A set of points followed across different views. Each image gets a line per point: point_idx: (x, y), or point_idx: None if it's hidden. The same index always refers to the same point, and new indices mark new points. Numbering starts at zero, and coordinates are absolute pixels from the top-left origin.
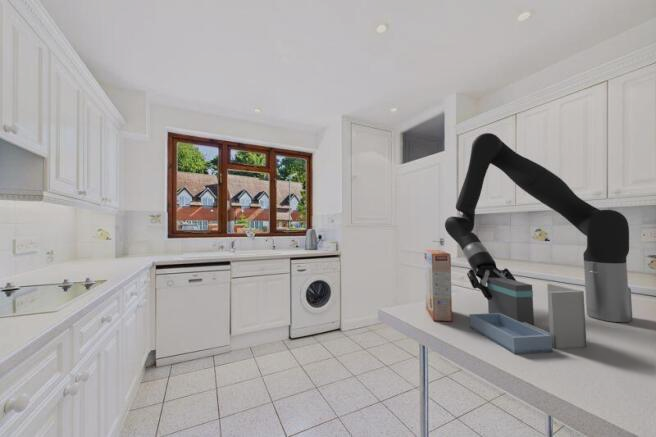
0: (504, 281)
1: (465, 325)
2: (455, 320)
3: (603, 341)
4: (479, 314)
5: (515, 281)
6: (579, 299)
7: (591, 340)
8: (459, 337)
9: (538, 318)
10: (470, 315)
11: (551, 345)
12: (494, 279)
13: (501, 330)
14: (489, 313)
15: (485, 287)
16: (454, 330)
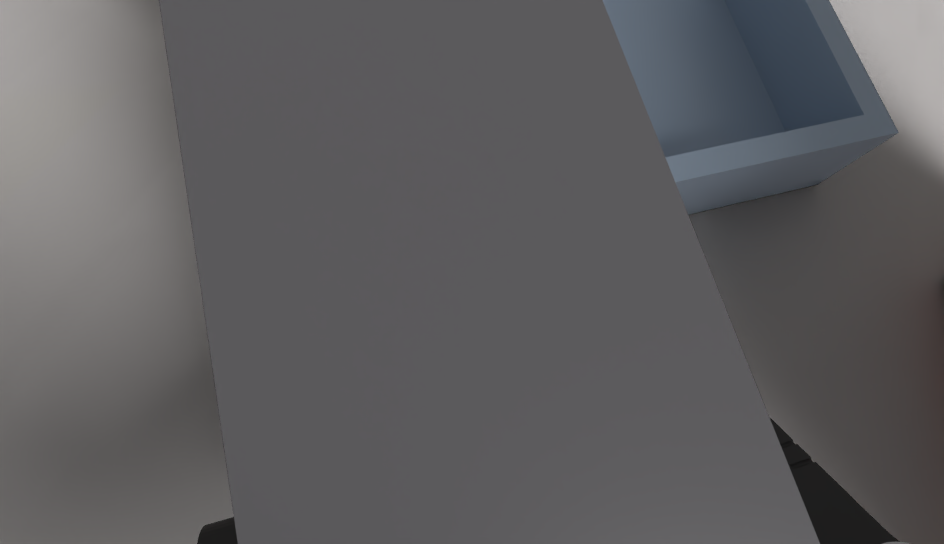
0: (592, 214)
1: (843, 216)
2: (911, 327)
3: (19, 7)
4: (812, 133)
5: (283, 230)
6: None
7: (87, 17)
8: (897, 12)
9: (101, 491)
10: (885, 120)
11: None
12: (780, 529)
13: None
14: (717, 169)
15: (844, 521)
16: (923, 114)
